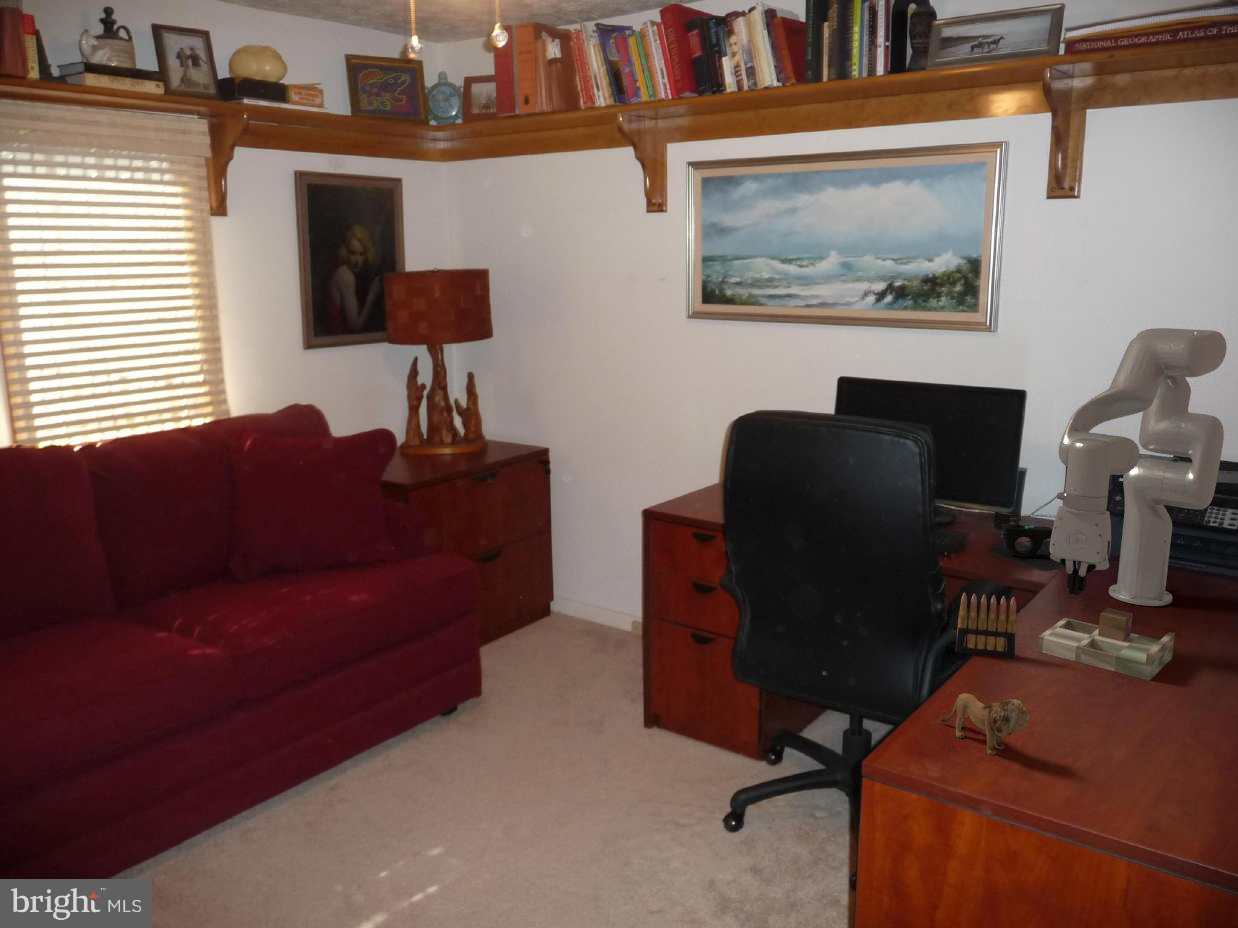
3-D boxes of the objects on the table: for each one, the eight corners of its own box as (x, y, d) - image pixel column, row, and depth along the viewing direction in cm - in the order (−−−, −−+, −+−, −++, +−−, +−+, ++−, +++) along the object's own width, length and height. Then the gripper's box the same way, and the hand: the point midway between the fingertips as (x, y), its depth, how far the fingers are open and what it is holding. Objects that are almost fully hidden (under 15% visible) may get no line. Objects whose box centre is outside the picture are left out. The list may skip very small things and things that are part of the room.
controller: (998, 552, 252) (1001, 515, 250) (1049, 555, 249) (1053, 518, 247) (1001, 557, 248) (1003, 519, 246) (1052, 560, 245) (1056, 522, 243)
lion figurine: (1032, 755, 148) (1036, 700, 147) (1011, 765, 145) (1016, 709, 144) (950, 719, 160) (953, 668, 158) (929, 728, 157) (933, 676, 155)
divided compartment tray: (1063, 631, 198) (1065, 608, 197) (1171, 657, 184) (1174, 633, 183) (1037, 651, 188) (1039, 626, 187) (1149, 680, 174) (1152, 654, 173)
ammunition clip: (1013, 654, 186) (1018, 595, 184) (1014, 658, 185) (1019, 598, 182) (955, 648, 189) (959, 590, 187) (955, 652, 188) (959, 593, 185)
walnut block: (1105, 629, 191) (1107, 607, 190) (1130, 635, 188) (1132, 613, 187) (1097, 635, 188) (1100, 613, 187) (1122, 641, 185) (1125, 619, 184)
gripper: (1038, 499, 190) (1030, 588, 193) (1120, 512, 180) (1109, 606, 183) (1052, 493, 195) (1044, 580, 199) (1132, 505, 185) (1122, 597, 188)
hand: (1075, 592), depth 191 cm, fingers closed
